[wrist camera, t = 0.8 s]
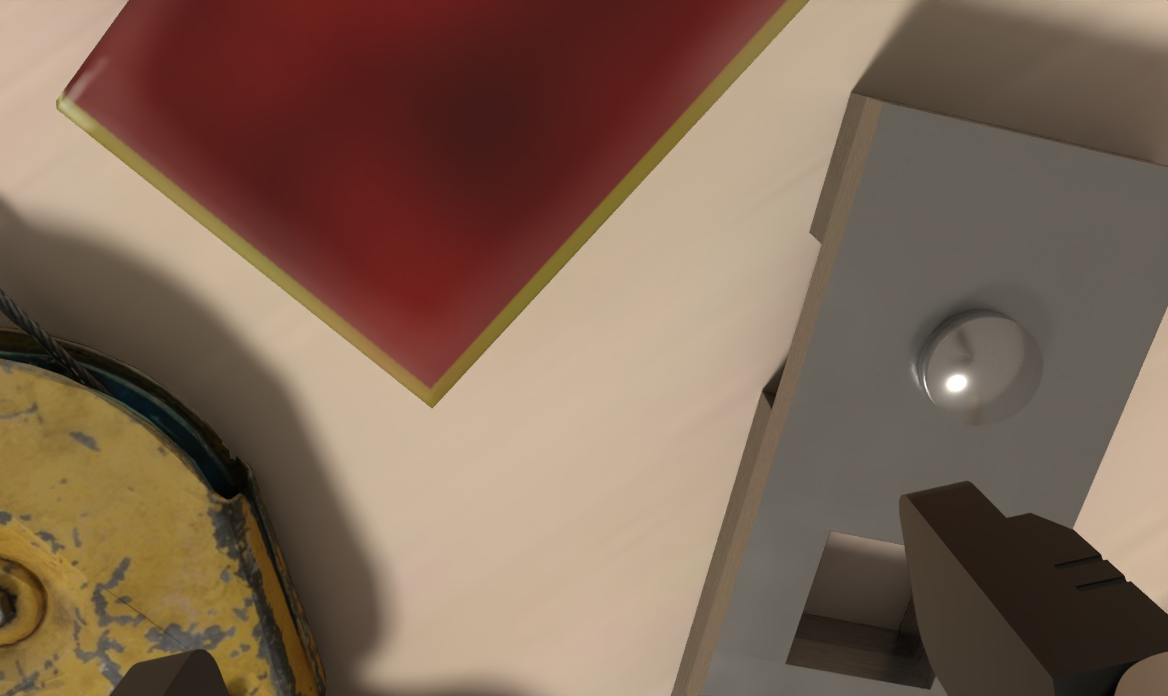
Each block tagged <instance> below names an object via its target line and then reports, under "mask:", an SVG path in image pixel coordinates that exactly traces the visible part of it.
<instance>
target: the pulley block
mask: <svg viewBox="0 0 1168 696" xmlns="http://www.w3.org/2000/svg"><path fill="white" fill-rule="evenodd" d="M0 310H1V311H2V312H3V313H4V314H5V315H6V316H7V317H8V318H9V319H10V320H11V321H12V322H14V323H15V324H16V325H18V326H19V327H20V328H21V329H23V330H24V331H23V330H15V329H8V328H1V327H0V696H110V694H111V693H112V692H113V690H114V689H115V688H116V686H117V685H118V684H119V682H120V681H121V680H122V678H123V677H124V676H125V674H126V673H127V672H128V670H129V669H130V668H131V667H132V666H133V665H134V664H136V663H138V662H142V661H147V660H151V659H156V658H160V657H165V656H169V655H174V654H178V653H183V652H187V651H192V650H196V649H204V650H206V651H207V652H209V653H210V654H211V655H212V656H213V658H214V659H215V661H216V663H217V665H218V667H219V669H220V672H221V674H222V677H223V680H224V682H225V685H226V687H227V690H228V693H229V695H230V696H325V692H326V687H327V685H326V678H325V672H324V668H323V665H322V662H321V659H320V656H319V653H318V650H317V647H316V644H315V642H314V639H313V636H312V633H311V631H310V628H309V625H308V623H307V620H306V617H305V614H304V612H303V609H302V606H301V603H300V601H299V598H298V595H297V592H296V590H295V587H294V584H293V582H292V579H291V576H290V573H289V571H288V568H287V565H286V562H285V560H284V557H283V554H282V551H281V549H280V546H279V543H278V541H277V538H276V535H275V532H274V530H273V527H272V524H271V521H270V519H269V516H268V513H267V510H266V508H265V505H264V502H263V500H262V497H261V494H260V491H259V489H258V486H257V483H256V480H255V476H254V473H253V471H252V469H251V467H250V465H249V464H248V463H247V462H245V461H244V460H242V459H241V458H240V457H238V456H237V457H236V461H235V460H233V459H230V455H229V450H228V449H227V448H225V447H224V446H223V445H222V440H221V439H220V438H219V437H218V435H217V434H216V433H215V432H214V431H213V429H212V428H211V427H210V426H209V425H208V424H207V422H206V421H205V420H204V419H203V418H202V417H201V416H200V415H199V414H198V412H196V411H195V410H194V409H193V408H192V407H191V406H189V405H188V404H187V403H186V402H185V401H184V400H183V399H181V398H180V397H179V396H178V395H176V394H175V393H173V392H172V391H170V390H169V389H167V388H166V387H164V386H163V385H161V384H160V383H158V382H156V381H155V380H153V379H152V378H150V377H149V376H147V375H146V374H144V373H143V372H141V371H140V370H138V369H136V368H134V367H132V366H129V365H127V364H125V363H123V362H120V361H118V360H116V359H114V358H112V357H109V356H107V355H105V354H103V353H101V352H98V351H96V350H94V349H92V348H90V347H86V346H83V345H79V344H76V343H72V342H69V341H65V340H61V339H58V338H54V337H51V336H50V335H49V334H48V333H47V332H46V331H44V330H43V329H42V328H41V327H40V326H39V325H38V324H37V323H36V322H35V321H34V320H33V319H32V318H31V317H30V316H29V315H27V314H26V313H25V312H24V311H23V310H22V309H21V308H20V307H19V306H18V305H17V304H16V303H15V302H14V301H13V300H11V299H10V298H9V297H8V296H7V295H6V294H5V293H4V292H3V291H2V290H1V289H0Z"/></svg>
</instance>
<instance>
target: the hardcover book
mask: <svg viewBox="0 0 1168 696" xmlns="http://www.w3.org/2000/svg"><path fill="white" fill-rule="evenodd" d="M808 1H809V0H129V1H128V2H127V4H126V5H125V6H124V8H123V9H122V11H121V12H120V13H119V15H118V16H117V17H116V19H115V20H114V22H113V23H112V24H111V26H110V27H109V29H108V30H107V31H106V33H105V34H104V35H103V37H102V38H101V40H100V41H99V42H98V44H97V45H96V46H95V48H94V49H93V51H92V52H91V53H90V55H89V56H88V58H87V59H86V60H85V62H84V63H83V64H82V66H81V67H80V69H79V70H78V71H77V73H76V74H75V76H74V77H73V78H72V80H71V81H70V82H69V84H68V85H67V87H66V88H65V89H64V91H63V92H62V93H61V95H60V96H59V98H58V99H57V100H56V106H57V110H59V111H60V112H61V113H62V114H64V115H65V116H66V117H67V118H69V119H70V120H71V121H72V122H74V123H75V124H76V125H78V126H79V127H80V128H81V129H83V130H84V131H85V132H86V133H88V134H89V135H90V136H91V137H93V138H94V139H95V140H96V141H98V142H99V143H100V144H101V145H103V146H104V147H105V148H106V149H108V150H109V151H110V152H111V153H113V154H114V155H115V156H116V157H118V158H119V159H120V160H121V161H123V162H124V163H125V164H126V165H128V166H129V167H130V168H131V169H133V170H134V171H135V172H136V173H138V174H139V175H140V176H141V177H143V178H144V179H145V180H146V181H148V182H149V183H150V184H151V185H153V186H154V187H155V188H156V189H158V190H159V191H160V192H161V193H163V194H164V195H165V196H167V197H168V198H169V199H170V200H172V201H173V202H174V203H175V204H177V205H178V206H179V207H180V208H182V209H183V210H184V211H185V212H187V213H188V214H189V215H190V216H192V217H193V218H194V219H195V220H197V221H198V222H199V223H200V224H202V225H203V226H204V227H205V228H207V229H208V230H209V231H210V232H212V233H213V234H214V235H215V236H217V237H218V238H219V239H220V240H222V241H223V242H224V243H225V244H227V245H228V246H229V247H230V248H232V249H233V250H234V251H235V252H237V253H238V254H239V255H240V256H242V257H243V258H244V259H245V260H247V261H248V262H249V263H250V264H252V265H253V266H254V267H256V268H257V269H258V270H259V271H261V272H262V273H263V274H264V275H266V276H267V277H268V278H269V279H271V280H272V281H273V282H274V283H276V284H277V285H278V286H279V287H281V288H282V289H283V290H284V291H286V292H287V293H288V294H289V295H291V296H292V297H293V298H294V299H296V300H297V301H298V302H299V303H301V304H302V305H303V306H304V307H306V308H307V309H308V310H309V311H311V312H312V313H313V314H314V315H316V316H317V317H318V318H319V319H321V320H322V321H323V322H324V323H326V324H327V325H328V326H329V327H331V328H332V329H333V330H334V331H336V332H337V333H338V334H339V335H341V336H342V337H343V338H345V339H346V340H347V341H348V342H350V343H351V344H352V345H353V346H355V347H356V348H357V349H358V350H360V351H361V352H362V353H363V354H365V355H366V356H367V357H368V358H370V359H371V360H372V361H373V362H375V363H376V364H377V365H378V366H380V367H381V368H382V369H383V370H385V371H386V372H387V373H388V374H390V375H391V376H392V377H393V378H395V379H396V380H397V381H398V382H400V383H401V384H402V385H403V386H405V387H406V388H407V389H408V390H410V391H411V392H412V393H413V394H415V395H416V396H417V397H418V398H420V399H421V400H422V401H423V402H425V403H426V404H427V405H428V406H430V407H431V408H433V407H434V406H435V405H436V404H437V403H438V402H439V401H440V400H441V399H442V397H443V396H444V395H445V394H446V393H447V392H448V391H449V390H450V389H451V388H452V387H453V386H454V384H455V383H456V382H457V381H458V380H459V379H460V378H461V377H462V376H463V375H464V374H465V373H466V371H467V370H468V369H469V368H470V367H471V366H472V365H473V364H474V363H475V362H476V361H477V360H478V359H479V357H480V356H481V355H482V354H483V353H484V352H485V351H486V350H487V349H488V348H489V347H490V346H491V344H492V343H493V342H494V341H495V340H496V339H497V338H498V337H499V336H500V335H501V334H502V333H503V331H504V330H505V329H506V328H507V327H508V326H509V325H510V324H511V323H512V322H513V321H514V320H515V318H516V317H517V316H518V315H519V314H520V313H521V312H522V311H523V310H524V309H525V308H526V307H527V305H528V304H529V303H530V302H531V301H532V300H533V299H534V298H535V297H536V296H537V295H538V294H539V293H540V291H541V290H542V289H543V288H544V287H545V286H546V285H547V284H548V283H549V282H550V281H551V280H552V278H553V277H554V276H555V275H556V274H557V273H558V272H559V271H560V270H561V269H562V268H563V267H564V265H565V264H566V263H567V262H568V261H569V260H570V259H571V258H572V257H573V256H574V255H575V254H576V252H577V251H578V250H579V249H580V248H581V247H582V246H583V245H584V244H585V243H586V242H587V241H588V239H589V238H590V237H591V236H592V235H593V234H594V233H595V232H596V231H597V230H598V229H599V228H600V226H601V225H602V224H603V223H604V222H605V221H606V220H607V219H608V218H609V217H610V216H611V215H612V214H613V212H614V211H615V210H616V209H617V208H618V207H619V206H620V205H621V204H622V203H623V202H624V201H625V199H626V198H627V197H628V196H629V195H630V194H631V193H632V192H633V191H634V190H635V189H636V188H637V186H638V185H639V184H640V183H641V182H642V181H643V180H644V179H645V178H646V177H647V176H648V175H649V173H650V172H651V171H652V170H653V169H654V168H655V167H656V166H657V165H658V164H659V163H660V162H661V160H662V159H663V158H664V157H665V156H666V155H667V154H668V153H669V152H670V151H671V150H672V149H673V148H674V146H675V145H676V144H677V143H678V142H679V141H680V140H681V139H682V138H683V137H684V136H685V135H686V133H687V132H688V131H689V130H690V129H691V128H692V127H693V126H694V125H695V124H696V123H697V122H698V120H699V119H700V118H701V117H702V116H703V115H704V114H705V113H706V112H707V111H708V110H709V109H710V107H711V106H712V105H713V104H714V103H715V102H716V101H717V100H718V99H719V98H720V97H721V96H722V94H723V93H724V92H725V91H726V90H727V89H728V88H729V87H730V86H731V85H732V84H733V83H734V81H735V80H736V79H737V78H738V77H739V76H740V75H741V74H742V73H743V72H744V71H745V70H746V69H747V67H748V66H749V65H750V64H751V63H752V62H753V61H754V60H755V59H756V58H757V57H758V56H759V54H760V53H761V52H762V51H763V50H764V49H765V48H766V47H767V46H768V45H769V44H770V43H771V41H772V40H773V39H774V38H775V37H776V36H777V35H778V34H779V33H780V32H781V31H782V30H783V28H784V27H785V26H786V25H787V24H788V23H789V22H790V21H791V20H792V19H793V18H794V17H795V15H796V14H797V13H798V12H799V11H800V10H801V9H802V8H803V7H804V6H805V5H806V4H807V3H808Z"/></svg>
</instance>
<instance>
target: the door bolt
mask: <svg viewBox="0 0 1168 696" xmlns="http://www.w3.org/2000/svg"><path fill="white" fill-rule="evenodd" d="M809 233H811V234H812V235H813V236H814V237H815V238H816V239H817V240H818V241H819V242H820V243H821V244H822V246H821V249H820V253H819V256H818V259H817V263H816V266H815V269H814V272H813V276H812V279H811V282H810V286H809V289H808V292H807V295H806V299H805V302H804V305H803V309H802V312H801V315H800V319H799V322H798V325H797V328H796V332H795V335H794V338H793V342H792V345H791V348H790V351H789V355H788V358H787V361H786V365H785V368H784V371H783V374H782V378H781V381H780V384H779V388H778V391H777V394H774V393H769V392H764V391H762V393H761V396H760V399H759V403H758V406H757V409H756V413H755V416H754V419H753V423H752V426H751V430H750V433H749V436H748V440H747V443H746V446H745V450H744V453H743V456H742V460H741V463H740V466H739V470H738V473H737V476H736V480H735V483H734V487H733V490H732V493H731V497H730V500H729V503H728V507H727V510H726V513H725V517H724V520H723V523H722V527H721V530H720V533H719V537H718V540H717V544H716V547H715V550H714V554H713V557H712V560H711V564H710V567H709V570H708V574H707V577H706V580H705V584H704V587H703V590H702V594H701V597H700V600H699V604H698V607H697V611H696V614H695V617H694V621H693V624H692V627H691V631H690V634H689V637H688V641H687V644H686V647H685V651H684V654H683V657H682V661H681V664H680V668H679V671H678V674H677V678H676V681H675V684H674V688H673V691H672V694H671V696H948V695H947V693H946V692H945V690H944V688H943V687H942V685H941V683H940V682H939V680H938V678H937V677H936V675H935V673H934V671H933V669H932V666H931V664H930V662H929V659H928V657H927V654H926V651H925V648H924V645H923V642H922V639H921V635H920V631H919V627H918V623H917V617H916V612H915V606H914V600H913V596H912V598H911V601H910V604H909V606H908V609H907V612H906V614H905V617H904V620H903V622H902V625H901V628H900V630H899V631H896V630H890V629H885V628H879V627H874V626H868V625H863V624H857V623H852V622H846V621H841V620H835V619H830V618H824V617H819V616H813V615H808V614H802V613H803V610H804V607H805V604H806V601H807V598H808V595H809V592H810V589H811V586H812V583H813V580H814V577H815V574H816V571H817V568H818V565H819V562H820V559H821V556H822V554H823V551H824V548H825V545H826V542H827V539H828V536H829V533H830V531H833V532H838V533H843V534H848V535H854V536H859V537H864V538H869V539H874V540H880V541H885V542H890V543H895V544H901V545H904V540H903V534H902V528H901V522H900V515H899V499H900V496H901V495H904V494H908V493H913V492H917V491H922V490H926V489H931V488H935V487H940V486H944V485H949V484H953V483H958V482H962V481H970V482H971V483H972V484H974V485H975V486H976V487H977V488H978V489H979V490H980V491H981V492H982V493H983V494H984V495H985V496H986V497H987V498H988V499H989V500H990V502H991V503H992V504H993V505H994V506H995V507H996V508H997V509H998V510H999V511H1000V512H1001V513H1002V514H1003V515H1004V516H1005V517H1006V518H1008V517H1013V516H1017V515H1022V514H1027V513H1033V514H1035V515H1038V516H1040V517H1043V518H1045V519H1048V520H1050V521H1053V522H1055V523H1058V524H1060V525H1063V526H1065V527H1068V528H1070V529H1073V527H1074V524H1075V522H1076V520H1077V517H1078V515H1079V513H1080V510H1081V508H1082V506H1083V503H1084V501H1085V499H1086V496H1087V494H1088V492H1089V489H1090V487H1091V485H1092V482H1093V480H1094V478H1095V475H1096V473H1097V471H1098V468H1099V466H1100V463H1101V461H1102V459H1103V456H1104V454H1105V452H1106V449H1107V447H1108V445H1109V442H1110V440H1111V438H1112V435H1113V433H1114V431H1115V428H1116V426H1117V424H1118V421H1119V419H1120V417H1121V414H1122V412H1123V410H1124V407H1125V405H1126V403H1127V400H1128V398H1129V396H1130V393H1131V391H1132V389H1133V386H1134V384H1135V381H1136V379H1137V377H1138V374H1139V372H1140V370H1141V367H1142V365H1143V363H1144V360H1145V358H1146V356H1147V353H1148V351H1149V349H1150V346H1151V344H1152V342H1153V339H1154V337H1155V335H1156V332H1157V330H1158V328H1159V325H1160V323H1161V321H1162V318H1163V316H1164V314H1165V311H1166V309H1167V307H1168V166H1166V165H1163V164H1159V163H1155V162H1151V161H1146V160H1142V159H1138V158H1133V157H1129V156H1125V155H1120V154H1116V153H1112V152H1107V151H1103V150H1099V149H1094V148H1090V147H1086V146H1082V145H1077V144H1073V143H1069V142H1064V141H1060V140H1056V139H1051V138H1047V137H1043V136H1038V135H1034V134H1030V133H1025V132H1021V131H1017V130H1012V129H1008V128H1004V127H999V126H995V125H991V124H986V123H982V122H978V121H973V120H969V119H965V118H960V117H956V116H952V115H947V114H943V113H939V112H934V111H930V110H926V109H921V108H917V107H913V106H908V105H904V104H900V103H895V102H891V101H887V100H882V99H878V98H874V97H869V96H865V95H861V94H856V93H852V92H851V94H850V98H849V101H848V104H847V108H846V111H845V114H844V118H843V121H842V124H841V128H840V131H839V135H838V138H837V141H836V145H835V148H834V151H833V155H832V158H831V161H830V165H829V168H828V171H827V175H826V178H825V181H824V185H823V188H822V192H821V195H820V198H819V202H818V205H817V208H816V212H815V215H814V218H813V222H812V225H811V228H810V232H809Z"/></svg>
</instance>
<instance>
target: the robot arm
mask: <svg viewBox="0 0 1168 696" xmlns="http://www.w3.org/2000/svg"><path fill="white" fill-rule="evenodd" d="M899 515H900V522H901V528H902V534H903V540H904V546H905V552H906V558H907V564H908V570H909V576H910V582H911V588H912V594H913V600H914V606H915V612H916V617H917V623H918V627H919V631H920V635H921V639H922V642H923V645H924V648H925V651H926V654H927V657H928V659H929V662H930V664H931V666H932V669H933V671H934V673H935V675H936V677H937V678H938V680H939V682H940V683H941V685H942V687H943V688H944V690H945V692H946V693H947V695H948V696H1168V614H1167V613H1165V612H1164V611H1163V610H1162V609H1161V608H1160V607H1159V606H1158V605H1157V604H1155V603H1154V602H1153V601H1152V600H1151V599H1150V598H1149V597H1148V596H1147V595H1145V594H1144V593H1143V592H1142V591H1141V590H1140V589H1139V588H1138V587H1137V586H1135V585H1134V584H1133V583H1132V582H1131V581H1130V582H1127V581H1126V579H1125V576H1124V575H1123V574H1122V573H1121V572H1120V571H1119V570H1118V569H1117V568H1115V567H1114V566H1113V565H1112V564H1111V563H1110V562H1109V561H1108V560H1103V559H1102V556H1101V554H1100V553H1099V552H1098V551H1097V550H1095V549H1094V548H1093V547H1092V546H1091V545H1090V544H1089V543H1088V542H1087V541H1085V540H1084V539H1083V538H1082V537H1081V536H1080V535H1079V534H1078V533H1077V532H1075V531H1074V530H1073V529H1070V528H1068V527H1065V526H1063V525H1060V524H1058V523H1055V522H1053V521H1050V520H1048V519H1045V518H1043V517H1040V516H1038V515H1035V514H1033V513H1027V514H1022V515H1017V516H1013V517H1008V518H1006V517H1005V516H1004V515H1003V514H1002V513H1001V512H1000V511H999V510H998V509H997V508H996V507H995V506H994V505H993V504H992V503H991V502H990V500H989V499H988V498H987V497H986V496H985V495H984V494H983V493H982V492H981V491H980V490H979V489H978V488H977V487H976V486H975V485H974V484H972V483H971V482H970V481H962V482H958V483H953V484H949V485H944V486H940V487H935V488H931V489H926V490H922V491H917V492H913V493H908V494H904V495H901V496H900V499H899ZM110 696H230V695H229V693H228V690H227V687H226V685H225V682H224V680H223V677H222V674H221V672H220V669H219V667H218V665H217V663H216V661H215V659H214V658H213V656H212V655H211V654H210V653H209V652H207V651H206V650H204V649H196V650H192V651H187V652H183V653H178V654H174V655H169V656H165V657H160V658H156V659H151V660H147V661H142V662H138V663H136V664H134V665H133V666H132V667H131V668H130V669H129V670H128V672H127V673H126V674H125V676H124V677H123V678H122V680H121V681H120V682H119V684H118V685H117V686H116V688H115V689H114V690H113V692H112V693H111V694H110Z"/></svg>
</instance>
